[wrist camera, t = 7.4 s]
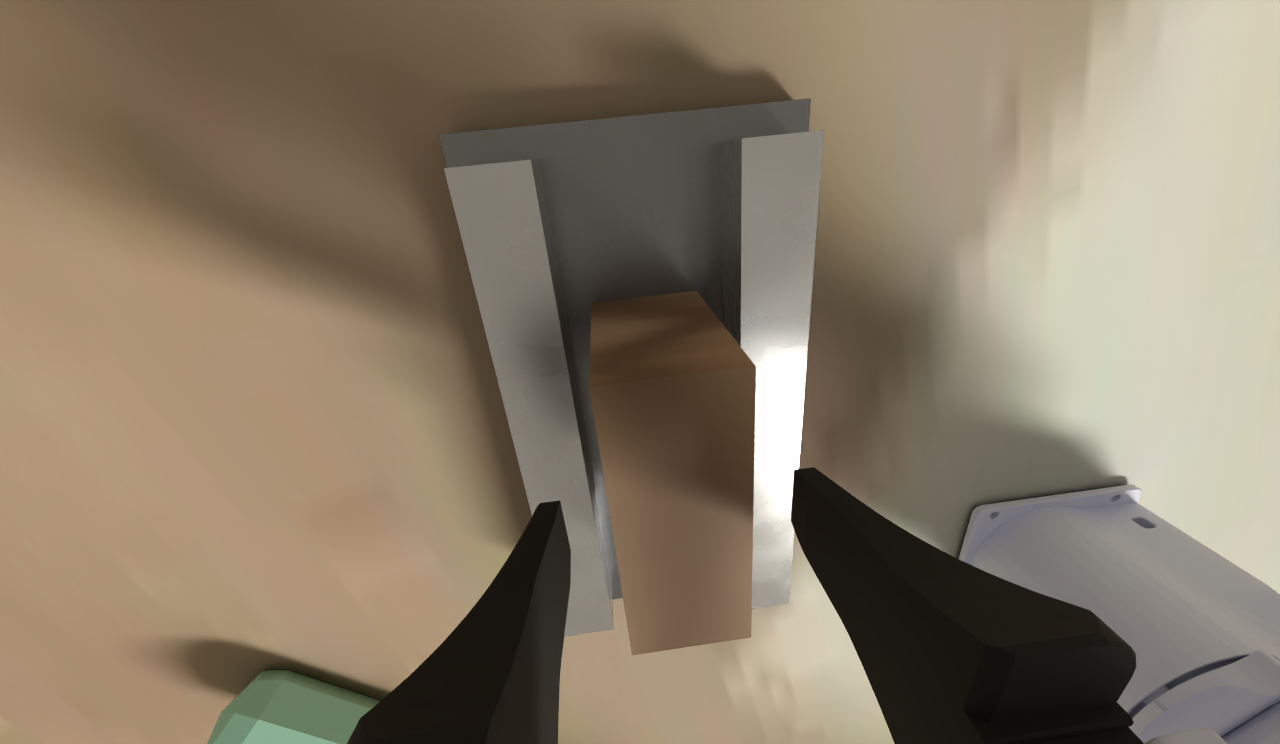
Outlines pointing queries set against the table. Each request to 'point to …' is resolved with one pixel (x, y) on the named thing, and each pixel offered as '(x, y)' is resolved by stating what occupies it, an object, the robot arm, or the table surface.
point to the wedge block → (676, 466)
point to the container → (290, 712)
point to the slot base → (641, 292)
